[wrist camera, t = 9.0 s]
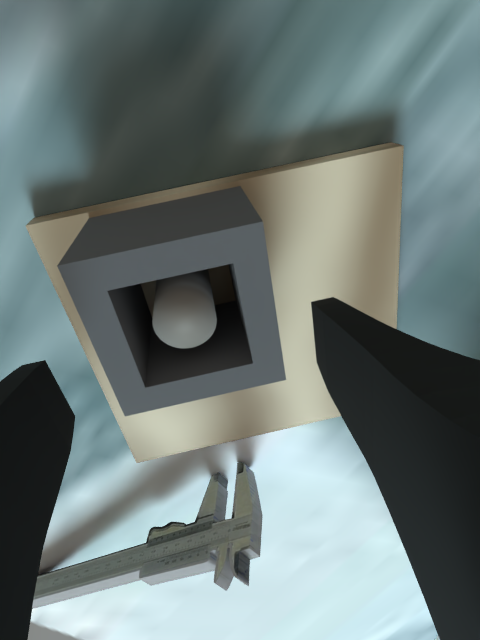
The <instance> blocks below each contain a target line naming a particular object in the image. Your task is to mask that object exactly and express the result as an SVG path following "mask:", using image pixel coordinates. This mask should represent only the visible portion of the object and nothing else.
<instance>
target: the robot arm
mask: <svg viewBox="0 0 480 640" xmlns="http://www.w3.org/2000/svg"><path fill="white" fill-rule="evenodd" d="M311 308H312V318H313V329H314V340H315V351H316V361H317V365H318V367H319V370H320V372H321V375H322V378H323V380H324V383H325V385H326V388H327V390H328V392H329V394H330V396H331V398H332V400H333V402H334V403H335V405H336V407H337V409H338V411H339V413H340V414H341V416H342V418H343V420H344V421H345V423H346V425H347V427H348V429H349V430H350V432H351V434H352V436H353V438H354V439H355V441H356V443H357V445H358V446H359V448H360V450H361V452H362V454H363V455H364V457H365V459H366V461H367V463H368V465H369V467H370V469H371V471H372V473H373V475H374V477H375V479H376V482H377V484H378V486H379V489H380V491H381V493H382V496H383V498H384V500H385V503H386V505H387V507H388V509H389V512H390V514H391V517H392V519H393V522H394V524H395V526H396V529H397V531H398V534H399V536H400V538H401V541H402V543H403V546H404V548H405V550H406V553H407V556H408V558H409V561H410V563H411V566H412V568H413V571H414V573H415V576H416V578H417V581H418V583H419V586H420V588H421V591H422V593H423V596H424V599H425V601H426V604H427V606H428V609H429V612H430V614H431V617H432V620H433V622H434V625H435V628H436V630H437V633H438V636H439V638H440V640H480V361H479V360H476V359H473V358H469V357H466V356H463V355H460V354H457V353H454V352H452V351H449V350H446V349H443V348H440V347H437V346H435V345H432V344H429V343H427V342H424V341H422V340H420V339H417V338H415V337H413V336H410V335H408V334H406V333H403V332H401V331H399V330H397V329H395V328H393V327H391V326H388V325H386V324H384V323H382V322H380V321H378V320H376V319H375V318H373V317H371V316H369V315H367V314H365V313H363V312H361V311H359V310H357V309H356V308H354V307H352V306H350V305H348V304H346V303H344V302H343V301H341V300H339V299H337V298H334V297H331V298H326V299H322V300H317V301H312V302H311ZM74 421H75V415H74V413H73V411H72V410H71V408H70V406H69V404H68V402H67V400H66V398H65V397H64V395H63V393H62V391H61V389H60V387H59V385H58V384H57V382H56V380H55V378H54V376H53V374H52V372H51V370H50V369H49V367H48V365H47V363H46V361H45V360H44V361H40V362H35V363H30V364H26V365H22V366H20V367H19V368H18V369H16V370H15V371H13V372H12V373H11V374H9V375H8V376H7V377H5V378H4V379H3V380H2V381H1V382H0V640H27V638H28V632H29V625H30V619H31V612H32V606H33V599H34V593H35V587H36V582H37V577H38V571H39V566H40V560H41V555H42V550H43V546H44V542H45V538H46V534H47V530H48V527H49V523H50V520H51V517H52V513H53V510H54V506H55V503H56V500H57V496H58V493H59V490H60V486H61V483H62V479H63V476H64V472H65V469H66V465H67V462H68V458H69V454H70V451H71V444H72V438H73V430H74Z"/></svg>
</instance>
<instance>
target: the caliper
mask: <svg viewBox="0 0 480 640" xmlns="http://www.w3.org/2000/svg"><path fill="white" fill-rule="evenodd" d="M227 484H228V480H226V479H225V478H224V477H223V476H222V475H221V474H220V473H217V474H215V475H213V476H212V477H211V479H210V482H209V485H208V487H207V490H206V493H205V496H204V498H203V501H202V504H201V507H200V509H199V512H198V515H197V518H196V520H195V522H193V523H190V524H187V525H186V524H185V523H179V522H170V523H168V524H167V525H165V526H163V527H153V528H151V529H150V531H149V534H148V538H147V542H146V543H144V544H141V545H138V546H134V547H131V548H128V549H124V550H121V551H118V552H115V553H111V554H108V555H105V556H102V557H98V558H95V559H92V560H88V561H85V562H82V563H79V564H75V565H72V566H69V567H65V568H62V569H58V570H55V571H51V572H48V573H45V574H41V575H38V577H37V582H36V587H35V593H34V599H33V606H32V609H33V608H37V607H41V606H45V605H49V604H53V603H56V602H60V601H64V600H68V599H71V598H75V597H79V596H83V595H86V594H90V593H94V592H98V591H101V590H105V589H109V588H113V587H117V586H120V585H124V584H128V583H132V582H135V581H139V580H142V581H144V582H146V583H147V584H149V585H155V584H160V583H164V582H168V581H172V580H177V579H181V578H185V577H189V576H194V575H198V574H202V573H206V572H211V571H214V570H215V574H214V583H215V584H217V585H218V586H220V587H221V588H223V589H224V590H226V591H227V589H228V588H229V586H230V583H231V581H232V579H233V577H234V576H235V577H236V578H237V579H239V580H240V581H241V582H243V583H244V584H246V585H248V586H249V565H250V560H251V559H254V558H257V557H260V547H261V530H262V511H261V506H260V501H259V495H258V490H257V485H256V480H255V476H254V473H253V472H252V471H251V470H250V469H249V468H248V467H247V466H246V465H245V464H244V463H242V462H241V463H237V475H236V485H235V494H234V503H233V512H232V519H227V520H225V513H226V504H227V495H228V491H227Z"/></svg>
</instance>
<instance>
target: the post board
mask: <svg viewBox="0 0 480 640" xmlns="http://www.w3.org/2000/svg"><path fill="white" fill-rule="evenodd" d="M402 172H403V145H399V144H396V143H392V142H390V143H385V144H381V145H376V146H371V147H366V148H362V149H357V150H352V151H348V152H343V153H338V154H333V155H329V156H324V157H319V158H314V159H310V160H305V161H300V162H296V163H291V164H286V165H281V166H277V167H272V168H267V169H262V170H258V171H253V172H248V173H244V174H239V175H234V176H229V177H225V178H220V179H215V180H210V181H206V182H201V183H196V184H192V185H187V186H182V187H177V188H173V189H168V190H163V191H158V192H154V193H149V194H144V195H140V196H135V197H130V198H125V199H121V200H116V201H111V202H106V203H102V204H97V205H92V206H88V207H83V208H78V209H73V210H69V211H64V212H59V213H54V214H50V215H45V216H40V217H36V218H33V219H32V220H31V221H30V222H29V223H28V224H27V225H26V228H27V230H28V232H29V234H30V236H31V238H32V240H33V243H34V245H35V247H36V249H37V251H38V253H39V255H40V258H41V260H42V262H43V264H44V266H45V268H46V270H47V273H48V275H49V277H50V279H51V281H52V283H53V285H54V287H55V290H56V292H57V294H58V296H59V298H60V300H61V302H62V305H63V307H64V309H65V311H66V313H67V315H68V317H69V320H70V322H71V324H72V326H73V328H74V330H75V332H76V335H77V337H78V339H79V341H80V343H81V345H82V347H83V349H84V352H85V354H86V356H87V358H88V360H89V362H90V364H91V367H92V369H93V371H94V373H95V375H96V377H97V379H98V382H99V384H100V386H101V388H102V390H103V392H104V394H105V396H106V399H107V401H108V403H109V405H110V407H111V409H112V411H113V414H114V416H115V418H116V420H117V422H118V424H119V426H120V429H121V431H122V433H123V435H124V437H125V439H126V441H127V443H128V446H129V448H130V450H131V452H132V454H133V456H134V458H135V461H136V463H139V462H144V461H148V460H152V459H157V458H161V457H165V456H170V455H174V454H178V453H183V452H187V451H191V450H196V449H200V448H204V447H209V446H213V445H217V444H222V443H226V442H230V441H235V440H239V439H243V438H248V437H252V436H256V435H261V434H265V433H269V432H274V431H278V430H283V429H287V428H291V427H296V426H300V425H304V424H309V423H313V422H317V421H322V420H326V419H330V418H335V417H339V416H341V414H340V413H339V411H338V409H337V407H336V405H335V403H334V402H333V400H332V398H331V396H330V394H329V392H328V390H327V388H326V385H325V383H324V380H323V378H322V375H321V372H320V370H319V367H318V365H317V361H316V351H315V340H314V329H313V318H312V308H311V302H312V301H317V300H322V299H326V298H331V297H334V298H337V299H339V300H341V301H343V302H344V303H346V304H348V305H350V306H352V307H354V308H356V309H357V310H359V311H361V312H363V313H365V314H367V315H369V316H371V317H373V318H375V319H376V320H378V321H380V322H382V323H384V324H386V325H388V326H391V327H393V328H395V329H396V328H397V302H398V276H399V250H400V224H401V198H402ZM237 186H241V188H242V189H243V191H244V193H245V194H246V196H247V197H248V199H249V200H250V202H251V204H252V205H253V207H254V208H255V210H256V211H257V213H258V215H259V216H260V218H261V219H262V221H263V225H264V232H265V239H266V246H267V253H268V260H269V266H270V273H271V280H272V287H273V294H274V300H275V307H276V314H277V321H278V328H279V334H280V341H281V348H282V355H283V362H284V368H285V375H286V380H284V381H279V382H275V383H270V384H266V385H262V386H257V387H253V388H248V389H244V390H240V391H235V392H231V393H226V394H222V395H218V396H213V397H209V398H204V399H200V400H196V401H191V402H187V403H182V404H178V405H174V406H169V407H165V408H160V409H156V410H152V411H147V412H143V413H138V414H134V415H130V416H124V413H123V411H122V409H121V407H120V405H119V402H118V400H117V398H116V396H115V394H114V391H113V389H112V387H111V385H110V382H109V380H108V378H107V376H106V374H105V371H104V369H103V367H102V365H101V362H100V360H99V358H98V356H97V354H96V351H95V349H94V347H93V345H92V342H91V340H90V338H89V336H88V334H87V331H86V329H85V327H84V325H83V322H82V320H81V318H80V316H79V314H78V311H77V309H76V307H75V305H74V302H73V300H72V298H71V296H70V294H69V291H68V289H67V287H66V285H65V283H64V280H63V278H62V276H61V274H60V271H59V269H58V267H57V265H58V264H59V262H60V261H61V259H62V258H63V256H64V255H65V253H66V252H67V250H68V249H69V247H70V246H71V244H72V243H73V241H74V240H75V238H76V237H77V235H78V234H79V232H80V231H81V229H82V228H83V226H84V225H85V223H86V222H87V220H88V219H89V218H91V217H96V216H101V215H106V214H110V213H115V212H120V211H124V210H129V209H134V208H138V207H143V206H148V205H153V204H157V203H162V202H167V201H171V200H176V199H181V198H185V197H190V196H195V195H200V194H204V193H209V192H214V191H218V190H223V189H228V188H232V187H237ZM141 287H142V289H143V292H144V295H145V298H146V301H147V304H148V307H149V310H150V313H151V316H152V319H153V320H152V323H153V328H154V331H155V333H156V335H157V336H158V337H159V338H160V339H161V340H162V341H163V342H164V343H166V344H168V345H170V346H172V347H176V348H193V347H196V346H199V345H201V344H203V343H204V342H206V341H207V340H208V339H209V338H210V337H211V336H212V334H213V333H214V331H215V328H216V324H217V318H216V312H215V306H214V305H218V304H222V303H227V302H231V301H236V299H235V294H234V289H233V284H232V280H231V275H230V270H229V265H223V266H219V267H214V268H210V269H205V270H201V271H196V272H191V273H187V274H182V275H178V276H173V277H168V278H164V279H159V280H155V281H150V282H145V283H141Z"/></svg>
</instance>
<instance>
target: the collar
mask: <svg viewBox="0 0 480 640" xmlns="http://www.w3.org/2000/svg"><path fill="white" fill-rule="evenodd" d="M223 265H229V270H230V275H231V280H232V284H233V289H234V294H235V299H236V301H231V302H227V303H222V304H218V305H214V306H215V312H216V318H217V324H216V328H215V331H214V333H213V334H212V336H211V337H210V338H209V339H208V340H207V341H206V342H204V343H203V344H201V345H199V346H196V347H193V348H176V347H172V346H170V345H168V344H166V343H164V342H163V341H162V340H161V339H160V338H159V337H158V336H157V335H156V333H155V331H154V328H153V323H152V320H153V319H152V316H151V313H150V310H149V307H148V304H147V301H146V298H145V295H144V292H143V289H142V287H141V283H145V282H150V281H155V280H159V279H164V278H168V277H173V276H178V275H182V274H187V273H191V272H196V271H201V270H205V269H210V268H214V267H219V266H223ZM57 267H58V269H59V271H60V274H61V276H62V278H63V280H64V283H65V285H66V287H67V289H68V291H69V294H70V296H71V298H72V300H73V302H74V305H75V307H76V309H77V311H78V314H79V316H80V318H81V320H82V322H83V325H84V327H85V329H86V331H87V334H88V336H89V338H90V340H91V342H92V345H93V347H94V349H95V351H96V354H97V356H98V358H99V360H100V362H101V365H102V367H103V369H104V371H105V374H106V376H107V378H108V380H109V382H110V385H111V387H112V389H113V391H114V394H115V396H116V398H117V400H118V402H119V405H120V407H121V409H122V411H123V413H124V416H130V415H134V414H138V413H143V412H147V411H152V410H156V409H160V408H165V407H169V406H174V405H178V404H182V403H187V402H191V401H196V400H200V399H204V398H209V397H213V396H218V395H222V394H226V393H231V392H235V391H240V390H244V389H248V388H253V387H257V386H262V385H266V384H270V383H275V382H279V381H284V380H286V375H285V368H284V362H283V355H282V348H281V341H280V334H279V328H278V321H277V314H276V307H275V300H274V294H273V287H272V280H271V273H270V266H269V260H268V253H267V246H266V239H265V232H264V225H263V221H262V219H261V218H260V216H259V215H258V213H257V211H256V210H255V208H254V207H253V205H252V204H251V202H250V200H249V199H248V197H247V196H246V194H245V193H244V191H243V189H242V188H241V186H237V187H232V188H228V189H223V190H218V191H214V192H209V193H204V194H200V195H195V196H190V197H185V198H181V199H176V200H171V201H167V202H162V203H157V204H153V205H148V206H143V207H138V208H134V209H129V210H124V211H120V212H115V213H110V214H106V215H101V216H96V217H91V218H89V219H88V220H87V222H86V223H85V225H84V226H83V228H82V229H81V231H80V232H79V234H78V235H77V237H76V238H75V240H74V241H73V243H72V244H71V246H70V247H69V249H68V250H67V252H66V253H65V255H64V256H63V258H62V259H61V261H60V262H59V264H58V265H57Z"/></svg>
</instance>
